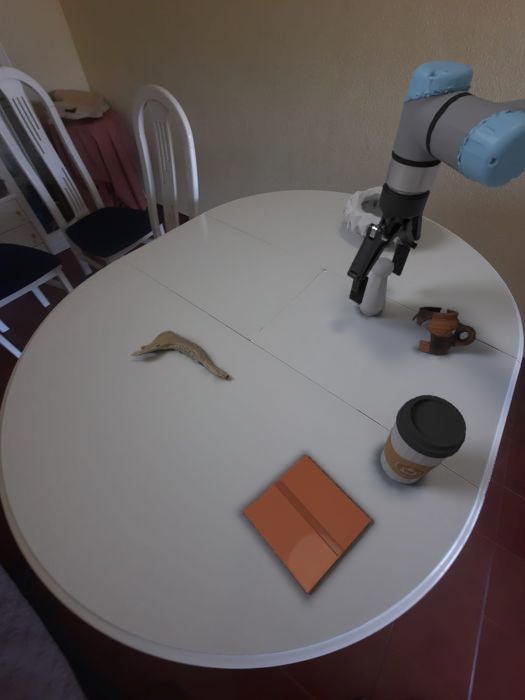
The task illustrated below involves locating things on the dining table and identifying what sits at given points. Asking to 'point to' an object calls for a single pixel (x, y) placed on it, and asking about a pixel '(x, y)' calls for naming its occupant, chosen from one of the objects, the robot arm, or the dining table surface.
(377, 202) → the bowl
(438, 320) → the pottery mug
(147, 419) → the dining table surface
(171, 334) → the curved driftwood piece
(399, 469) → the coffee cup
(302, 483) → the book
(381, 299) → the salt shaker
